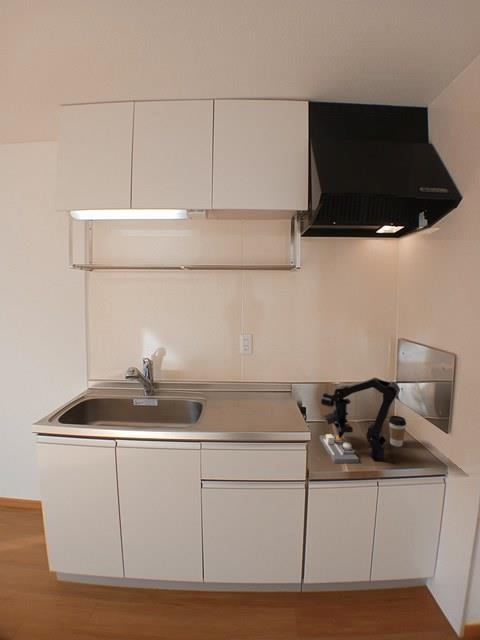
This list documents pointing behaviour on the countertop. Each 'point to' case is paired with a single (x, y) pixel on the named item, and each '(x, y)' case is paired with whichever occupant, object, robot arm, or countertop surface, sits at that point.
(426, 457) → the countertop surface
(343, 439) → the orange button
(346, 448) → the grey button
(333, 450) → the control panel
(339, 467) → the countertop surface
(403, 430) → the coffee cup
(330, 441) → the slider knob
